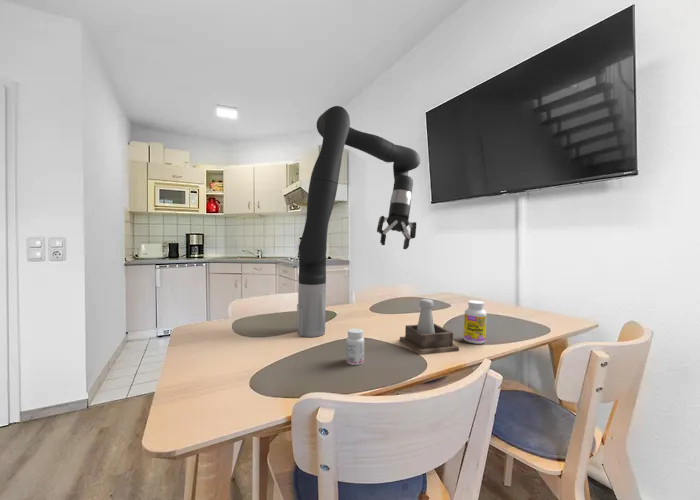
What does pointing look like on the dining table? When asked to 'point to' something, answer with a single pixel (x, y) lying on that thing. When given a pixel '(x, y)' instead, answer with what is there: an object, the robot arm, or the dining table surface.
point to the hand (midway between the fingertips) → (394, 247)
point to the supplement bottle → (475, 322)
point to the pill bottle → (355, 347)
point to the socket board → (429, 340)
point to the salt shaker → (426, 317)
